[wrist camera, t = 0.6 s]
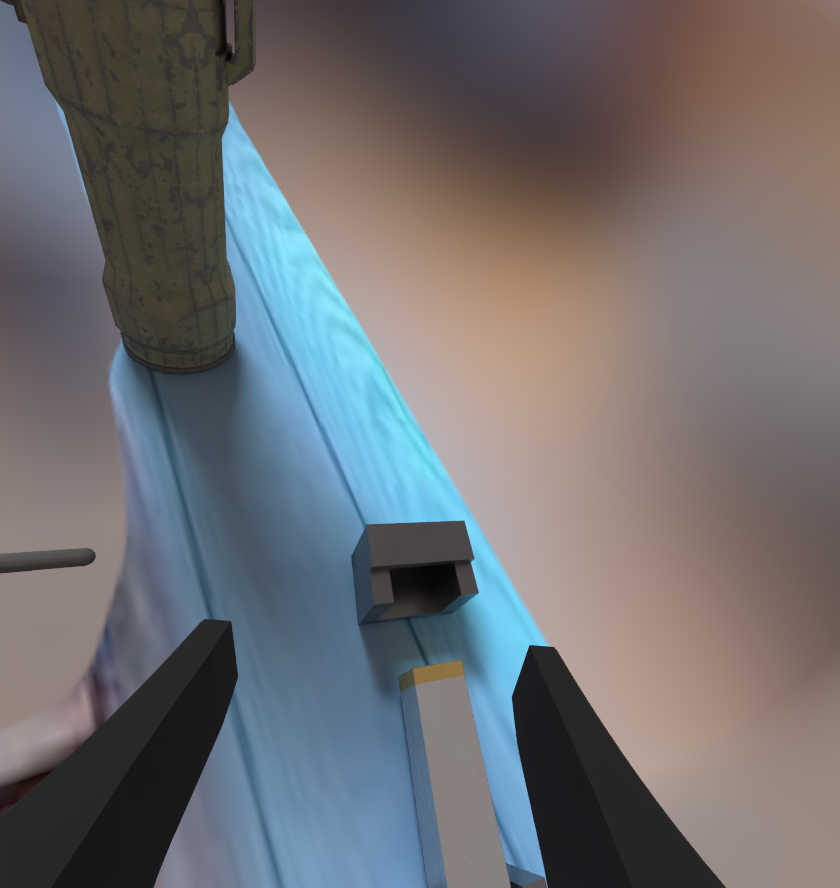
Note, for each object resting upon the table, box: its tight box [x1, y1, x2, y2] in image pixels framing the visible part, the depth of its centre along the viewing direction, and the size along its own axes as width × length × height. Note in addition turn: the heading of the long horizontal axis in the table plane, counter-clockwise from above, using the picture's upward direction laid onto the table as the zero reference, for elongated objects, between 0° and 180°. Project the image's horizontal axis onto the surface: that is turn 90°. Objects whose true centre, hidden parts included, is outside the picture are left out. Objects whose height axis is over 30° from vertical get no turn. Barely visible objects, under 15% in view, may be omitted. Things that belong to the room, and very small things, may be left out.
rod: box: [398, 660, 511, 888], centre depth 20 cm, size 18×3×3 cm, turn 11°
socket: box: [351, 521, 479, 625], centre depth 28 cm, size 5×7×5 cm
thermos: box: [1, 0, 256, 374], centre depth 24 cm, size 9×12×35 cm
